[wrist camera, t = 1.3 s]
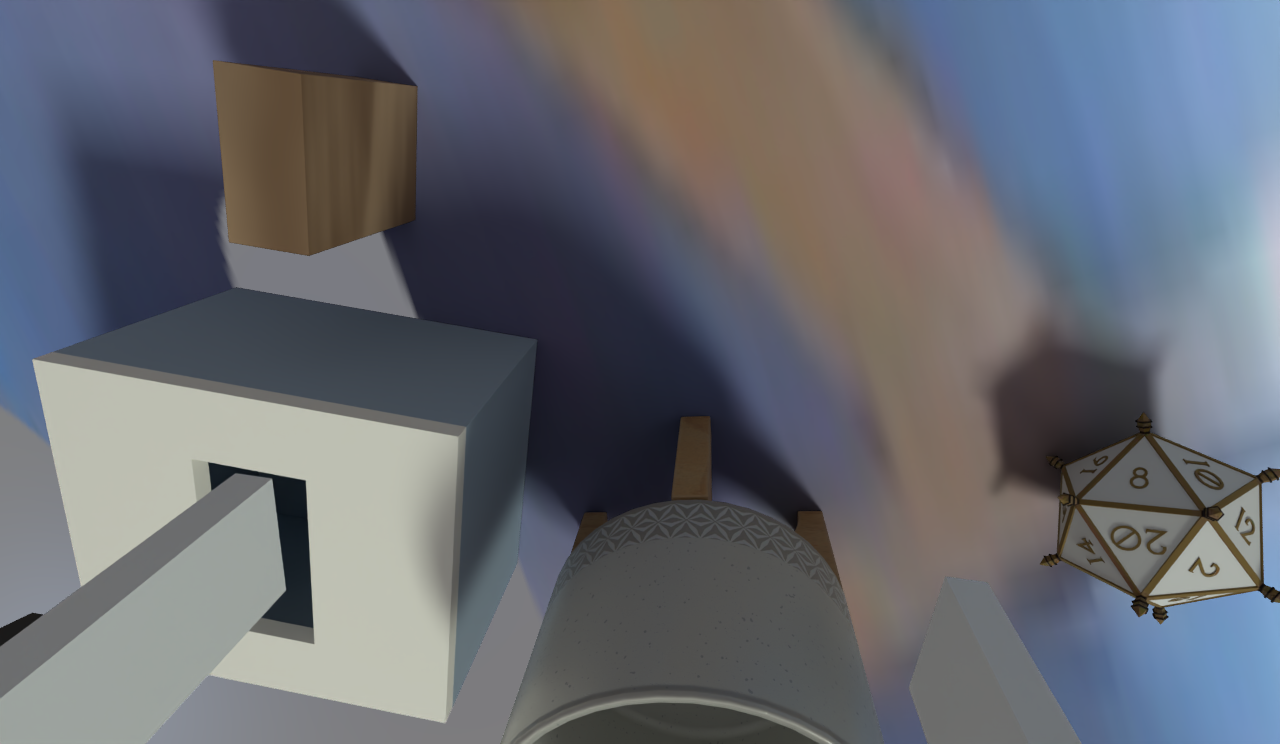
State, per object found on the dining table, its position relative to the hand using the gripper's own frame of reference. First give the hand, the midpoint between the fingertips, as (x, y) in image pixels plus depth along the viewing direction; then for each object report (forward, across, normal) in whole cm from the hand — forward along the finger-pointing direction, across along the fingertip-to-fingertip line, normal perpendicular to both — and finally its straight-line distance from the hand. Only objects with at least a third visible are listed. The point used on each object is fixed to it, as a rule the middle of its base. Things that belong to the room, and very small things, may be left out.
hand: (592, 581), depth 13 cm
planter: (+21, +3, -12) cm, 24 cm away
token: (+21, -14, +6) cm, 26 cm away
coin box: (+21, -15, -9) cm, 27 cm away
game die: (+21, +23, -6) cm, 31 cm away
